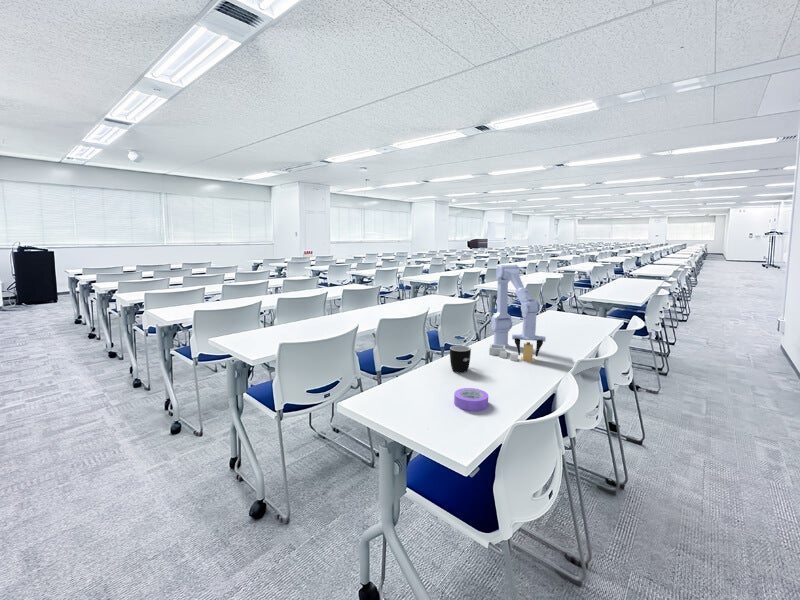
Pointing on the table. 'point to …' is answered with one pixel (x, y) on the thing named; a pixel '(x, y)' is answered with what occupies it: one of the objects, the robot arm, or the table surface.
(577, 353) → the table surface
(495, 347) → the cable board
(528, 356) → the connector plug
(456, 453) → the table surface
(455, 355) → the mug
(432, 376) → the table surface
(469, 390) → the masking tape
